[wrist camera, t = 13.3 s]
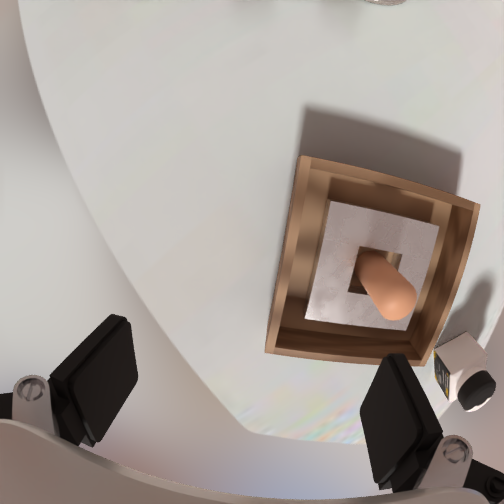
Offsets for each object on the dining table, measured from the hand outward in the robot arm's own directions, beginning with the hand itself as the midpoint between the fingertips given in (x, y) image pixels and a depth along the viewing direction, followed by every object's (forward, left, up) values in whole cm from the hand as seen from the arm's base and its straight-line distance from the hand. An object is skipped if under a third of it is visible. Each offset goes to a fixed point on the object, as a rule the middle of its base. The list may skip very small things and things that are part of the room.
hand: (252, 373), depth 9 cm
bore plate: (+2, +12, -26) cm, 29 cm away
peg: (+2, +12, -25) cm, 28 cm away
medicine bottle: (+15, +33, -26) cm, 45 cm away
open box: (+2, +12, -26) cm, 29 cm away
